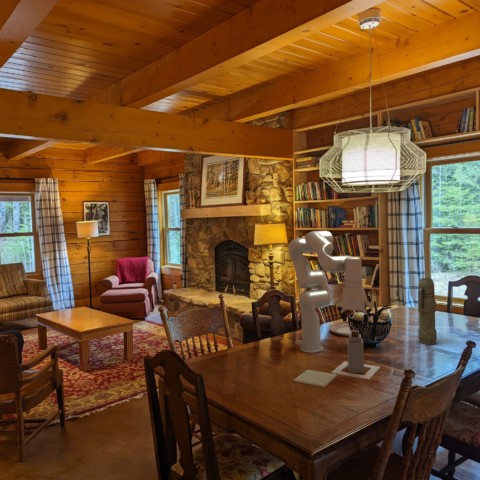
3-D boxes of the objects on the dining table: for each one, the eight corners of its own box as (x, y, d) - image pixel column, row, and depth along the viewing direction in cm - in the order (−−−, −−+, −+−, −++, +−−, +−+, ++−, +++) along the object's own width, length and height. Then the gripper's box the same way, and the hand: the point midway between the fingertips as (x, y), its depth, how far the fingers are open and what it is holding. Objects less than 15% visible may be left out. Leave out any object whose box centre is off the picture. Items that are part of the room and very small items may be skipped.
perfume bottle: (364, 372, 194) (363, 333, 193) (348, 372, 195) (347, 332, 195) (363, 367, 201) (362, 329, 200) (348, 367, 202) (346, 329, 201)
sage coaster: (293, 381, 188) (293, 379, 188) (307, 371, 199) (307, 369, 199) (324, 387, 180) (324, 385, 180) (336, 376, 192) (336, 374, 192)
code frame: (331, 373, 196) (331, 372, 196) (344, 362, 210) (344, 361, 210) (368, 379, 186) (368, 378, 186) (380, 367, 200) (380, 366, 200)
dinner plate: (327, 327, 277) (327, 322, 277) (371, 326, 275) (371, 321, 274) (332, 339, 250) (331, 333, 250) (381, 338, 247) (380, 333, 247)
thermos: (441, 342, 236) (439, 277, 234) (430, 346, 228) (429, 280, 226) (425, 339, 242) (423, 276, 241) (414, 343, 235) (412, 279, 233)
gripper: (332, 284, 198) (333, 322, 198) (370, 286, 188) (371, 325, 189) (338, 282, 204) (339, 318, 205) (375, 283, 194) (376, 321, 195)
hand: (355, 322), depth 197 cm, fingers open, 9 cm apart
